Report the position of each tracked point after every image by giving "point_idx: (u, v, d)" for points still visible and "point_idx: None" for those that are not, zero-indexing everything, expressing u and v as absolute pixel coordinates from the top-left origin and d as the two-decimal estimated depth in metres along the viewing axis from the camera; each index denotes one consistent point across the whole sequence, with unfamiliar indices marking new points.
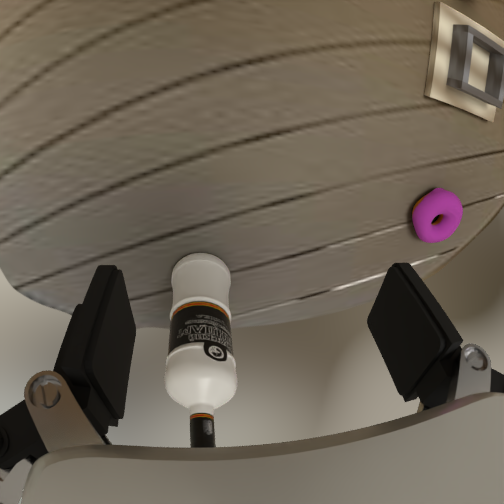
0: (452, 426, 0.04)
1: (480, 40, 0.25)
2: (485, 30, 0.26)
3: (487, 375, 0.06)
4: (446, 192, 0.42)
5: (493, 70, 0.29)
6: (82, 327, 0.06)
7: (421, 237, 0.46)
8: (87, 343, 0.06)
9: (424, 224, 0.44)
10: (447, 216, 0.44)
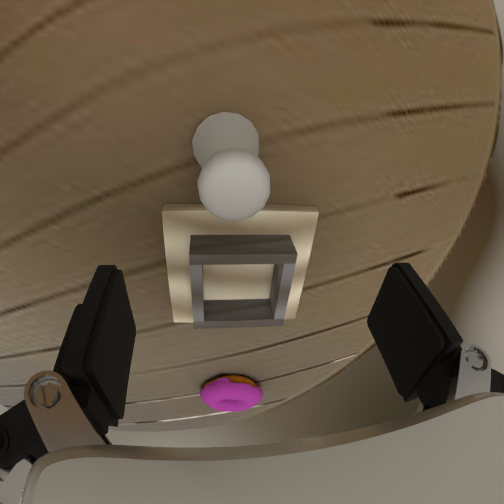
0: (452, 426, 0.04)
1: None
2: (266, 213, 0.31)
3: (487, 375, 0.06)
4: (228, 385, 0.46)
5: (275, 275, 0.34)
6: (82, 327, 0.06)
7: None
8: (86, 344, 0.06)
9: (210, 405, 0.49)
10: None
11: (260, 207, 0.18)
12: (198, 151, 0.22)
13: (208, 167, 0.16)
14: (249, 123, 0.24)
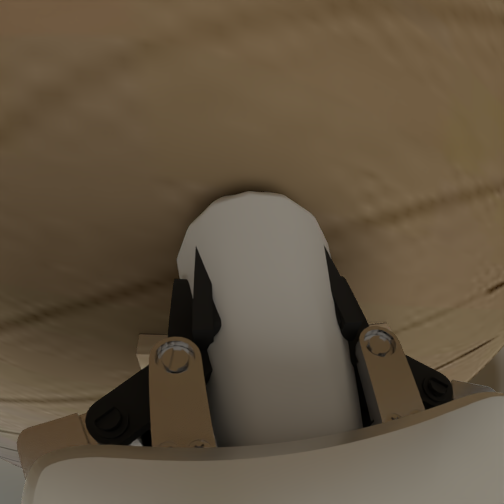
0: (452, 426, 0.04)
1: None
2: None
3: (401, 355, 0.07)
4: None
5: None
6: (202, 294, 0.08)
7: None
8: (212, 308, 0.08)
9: None
10: None
11: None
12: None
13: None
14: (314, 228, 0.10)
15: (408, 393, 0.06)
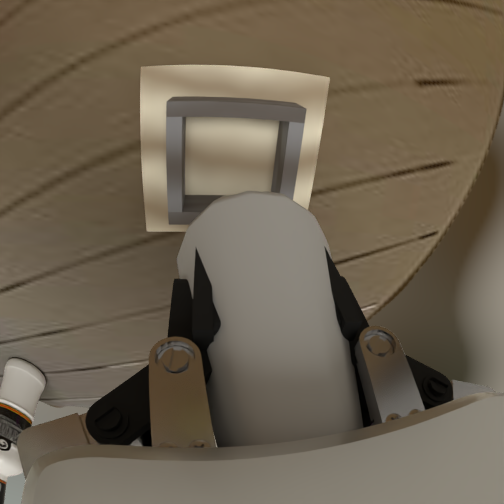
0: (452, 426, 0.04)
1: None
2: (266, 72, 0.22)
3: (401, 355, 0.07)
4: None
5: (278, 152, 0.25)
6: (202, 294, 0.08)
7: None
8: (212, 308, 0.08)
9: None
10: None
11: None
12: None
13: None
14: (314, 227, 0.10)
15: (408, 393, 0.06)
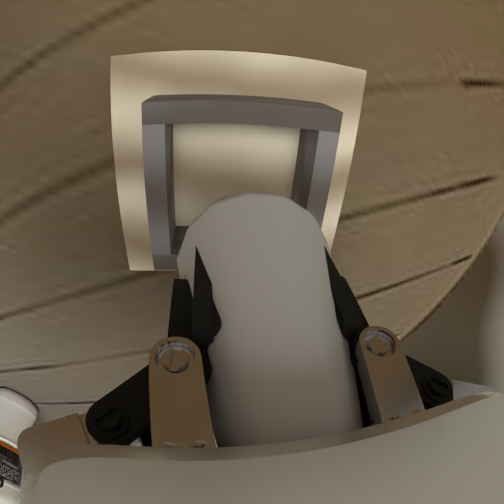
0: (452, 426, 0.04)
1: None
2: (283, 60, 0.16)
3: (400, 355, 0.07)
4: None
5: (300, 170, 0.19)
6: (202, 294, 0.08)
7: None
8: (212, 308, 0.08)
9: None
10: None
11: None
12: None
13: None
14: (314, 228, 0.10)
15: (408, 393, 0.06)
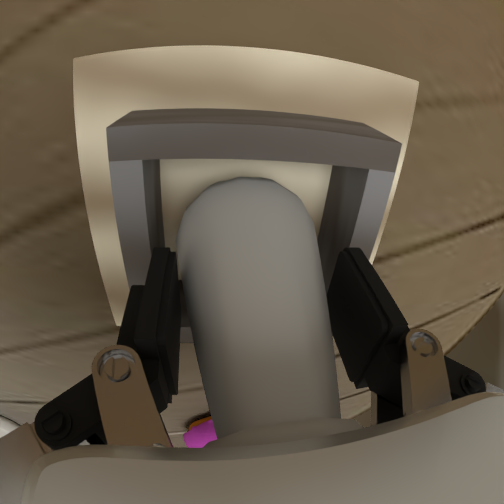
0: (452, 426, 0.04)
1: None
2: (314, 62, 0.11)
3: (440, 359, 0.07)
4: None
5: (333, 216, 0.14)
6: (150, 302, 0.07)
7: None
8: (157, 316, 0.07)
9: None
10: None
11: None
12: (187, 299, 0.10)
13: None
14: (300, 209, 0.11)
15: (441, 394, 0.06)
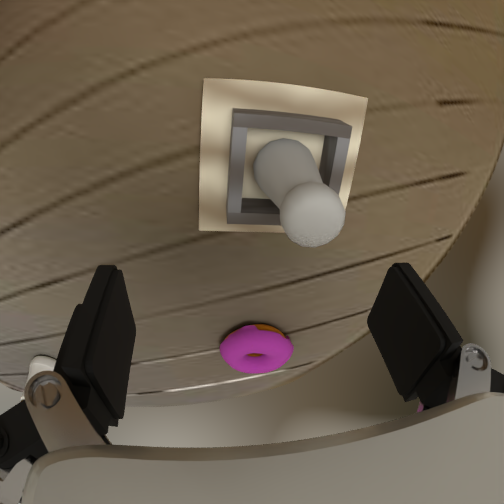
0: (452, 426, 0.04)
1: None
2: (315, 91, 0.26)
3: (487, 375, 0.06)
4: (255, 333, 0.41)
5: (324, 162, 0.29)
6: (82, 327, 0.06)
7: None
8: (86, 344, 0.06)
9: (231, 362, 0.43)
10: None
11: (335, 236, 0.20)
12: (266, 177, 0.24)
13: (294, 199, 0.18)
14: (308, 151, 0.26)
15: None
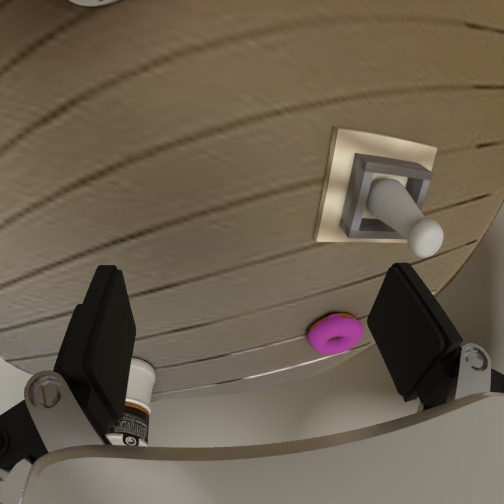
0: (452, 426, 0.04)
1: None
2: (407, 143, 0.35)
3: (487, 375, 0.06)
4: (340, 320, 0.51)
5: None
6: (82, 327, 0.06)
7: (318, 351, 0.56)
8: (86, 344, 0.06)
9: (317, 345, 0.53)
10: (345, 336, 0.53)
11: (437, 250, 0.29)
12: (386, 209, 0.34)
13: (422, 230, 0.28)
14: None
15: None
